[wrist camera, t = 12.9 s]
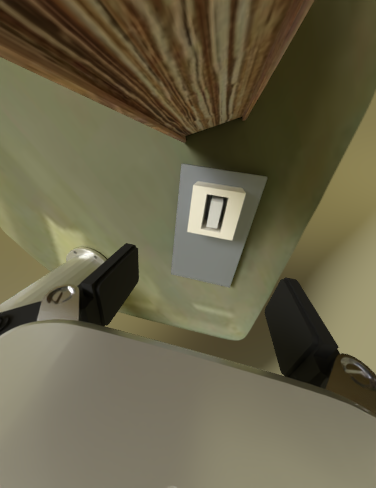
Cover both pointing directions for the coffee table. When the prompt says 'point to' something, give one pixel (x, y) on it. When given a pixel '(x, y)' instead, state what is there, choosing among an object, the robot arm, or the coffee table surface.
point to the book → (155, 53)
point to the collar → (229, 214)
